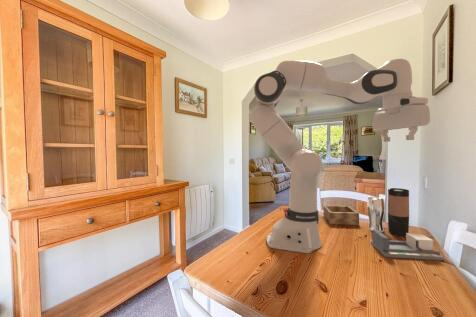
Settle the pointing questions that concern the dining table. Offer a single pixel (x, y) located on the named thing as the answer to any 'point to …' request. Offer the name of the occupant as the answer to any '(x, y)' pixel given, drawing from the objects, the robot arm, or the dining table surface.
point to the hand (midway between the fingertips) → (397, 140)
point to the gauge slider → (419, 241)
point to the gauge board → (408, 251)
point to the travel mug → (398, 211)
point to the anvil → (381, 240)
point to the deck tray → (341, 215)
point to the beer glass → (375, 213)
